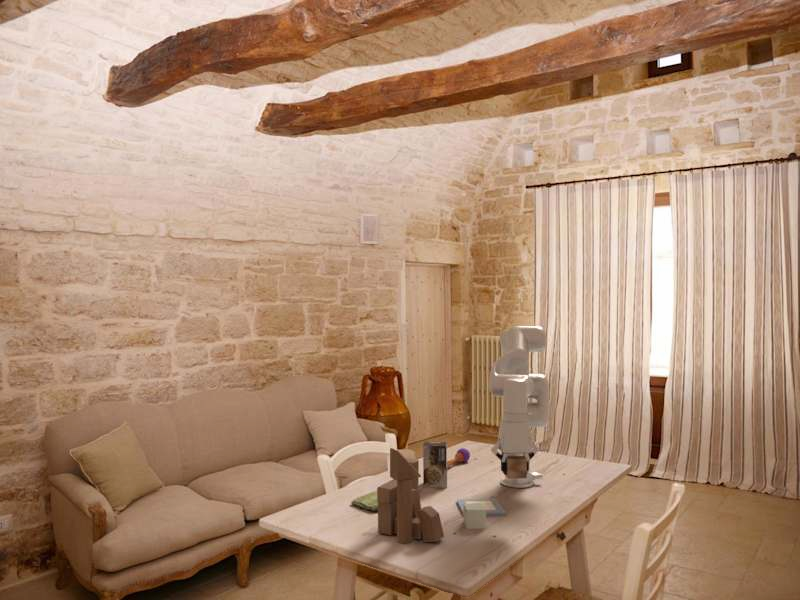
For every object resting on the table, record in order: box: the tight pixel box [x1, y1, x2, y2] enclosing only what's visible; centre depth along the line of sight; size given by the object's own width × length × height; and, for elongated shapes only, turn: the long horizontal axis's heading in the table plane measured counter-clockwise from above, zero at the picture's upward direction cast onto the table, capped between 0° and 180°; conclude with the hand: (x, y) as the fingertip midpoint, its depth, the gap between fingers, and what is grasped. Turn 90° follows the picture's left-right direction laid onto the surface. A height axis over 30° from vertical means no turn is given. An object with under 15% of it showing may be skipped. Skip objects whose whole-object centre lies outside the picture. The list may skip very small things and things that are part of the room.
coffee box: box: [422, 441, 448, 489], centre depth 244 cm, size 9×6×16 cm
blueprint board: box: [456, 497, 506, 517], centre depth 218 cm, size 14×14×1 cm
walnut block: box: [504, 454, 527, 479], centre depth 204 cm, size 6×6×6 cm
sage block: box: [463, 503, 487, 530], centre depth 203 cm, size 6×6×6 cm
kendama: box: [447, 447, 471, 470], centre depth 272 cm, size 6×6×20 cm
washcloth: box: [350, 490, 378, 513], centre depth 224 cm, size 13×18×3 cm
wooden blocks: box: [376, 447, 445, 544], centre depth 196 cm, size 24×20×28 cm
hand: (514, 472), depth 204 cm, fingers closed on walnut block, 6 cm apart
